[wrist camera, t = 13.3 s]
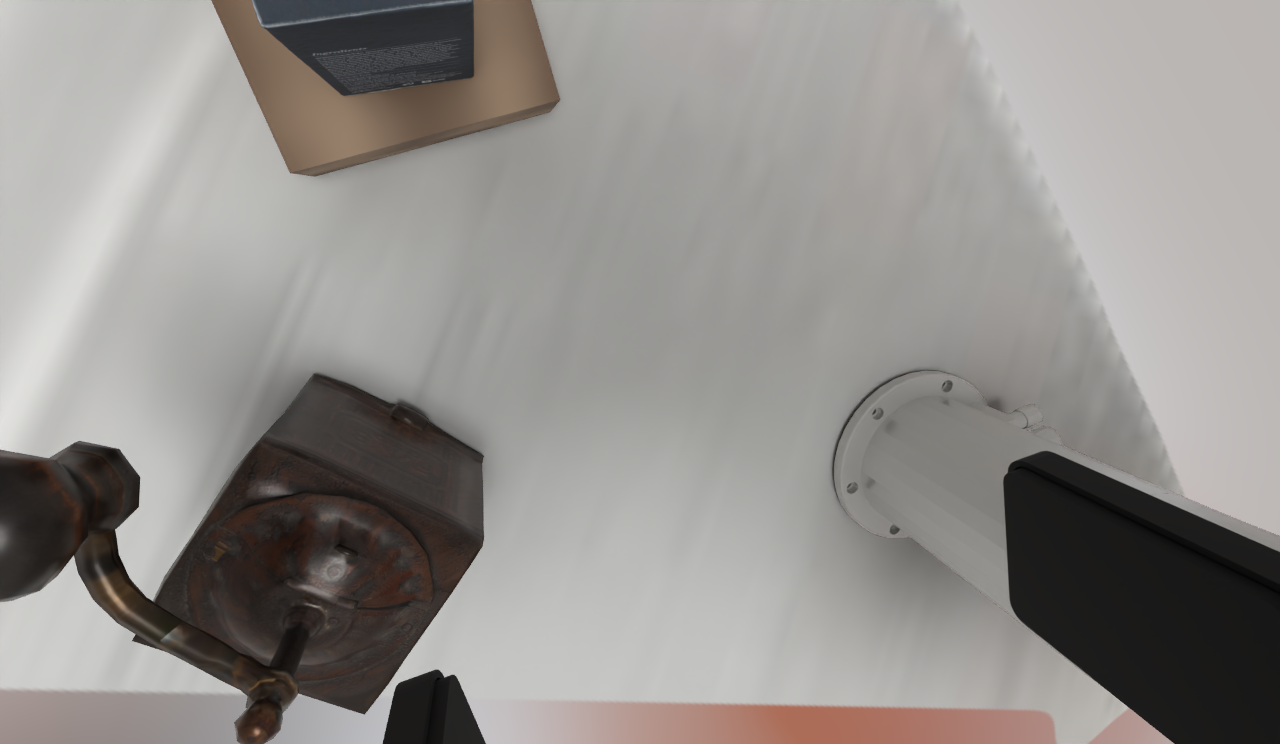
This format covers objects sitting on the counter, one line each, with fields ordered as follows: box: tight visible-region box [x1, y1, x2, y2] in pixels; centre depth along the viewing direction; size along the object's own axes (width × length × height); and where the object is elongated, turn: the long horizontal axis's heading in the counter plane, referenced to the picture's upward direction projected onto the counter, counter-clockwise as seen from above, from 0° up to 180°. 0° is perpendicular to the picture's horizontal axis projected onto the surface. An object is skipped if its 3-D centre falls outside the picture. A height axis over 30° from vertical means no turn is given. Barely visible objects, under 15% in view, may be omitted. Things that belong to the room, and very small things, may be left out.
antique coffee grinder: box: [0, 374, 484, 744], centre depth 24 cm, size 16×11×18 cm
